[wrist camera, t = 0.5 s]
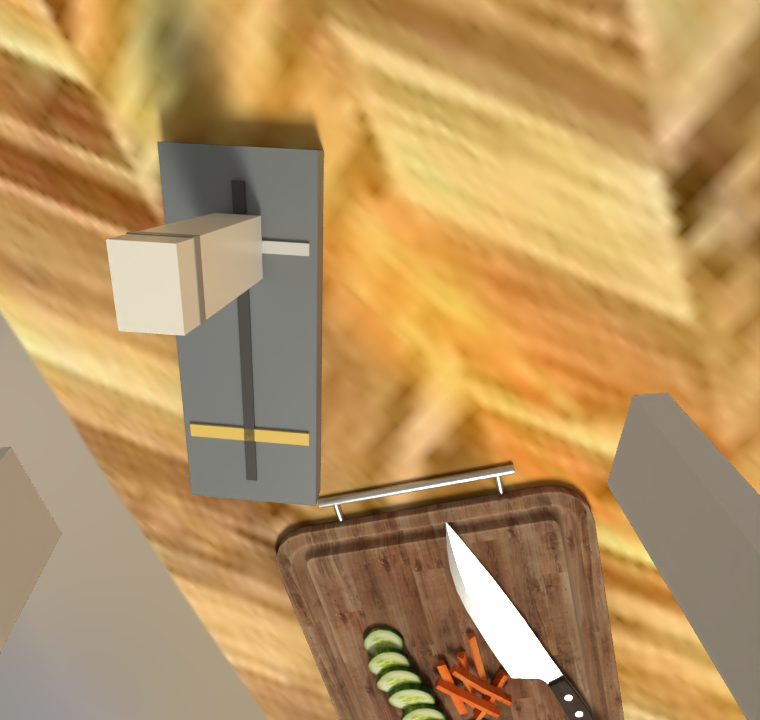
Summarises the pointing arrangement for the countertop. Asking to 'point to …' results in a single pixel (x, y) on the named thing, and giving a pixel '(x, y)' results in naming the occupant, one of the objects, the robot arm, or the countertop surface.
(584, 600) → the chopping board
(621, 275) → the countertop surface
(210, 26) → the countertop surface
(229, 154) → the fader console
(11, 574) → the robot arm
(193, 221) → the fader knob
